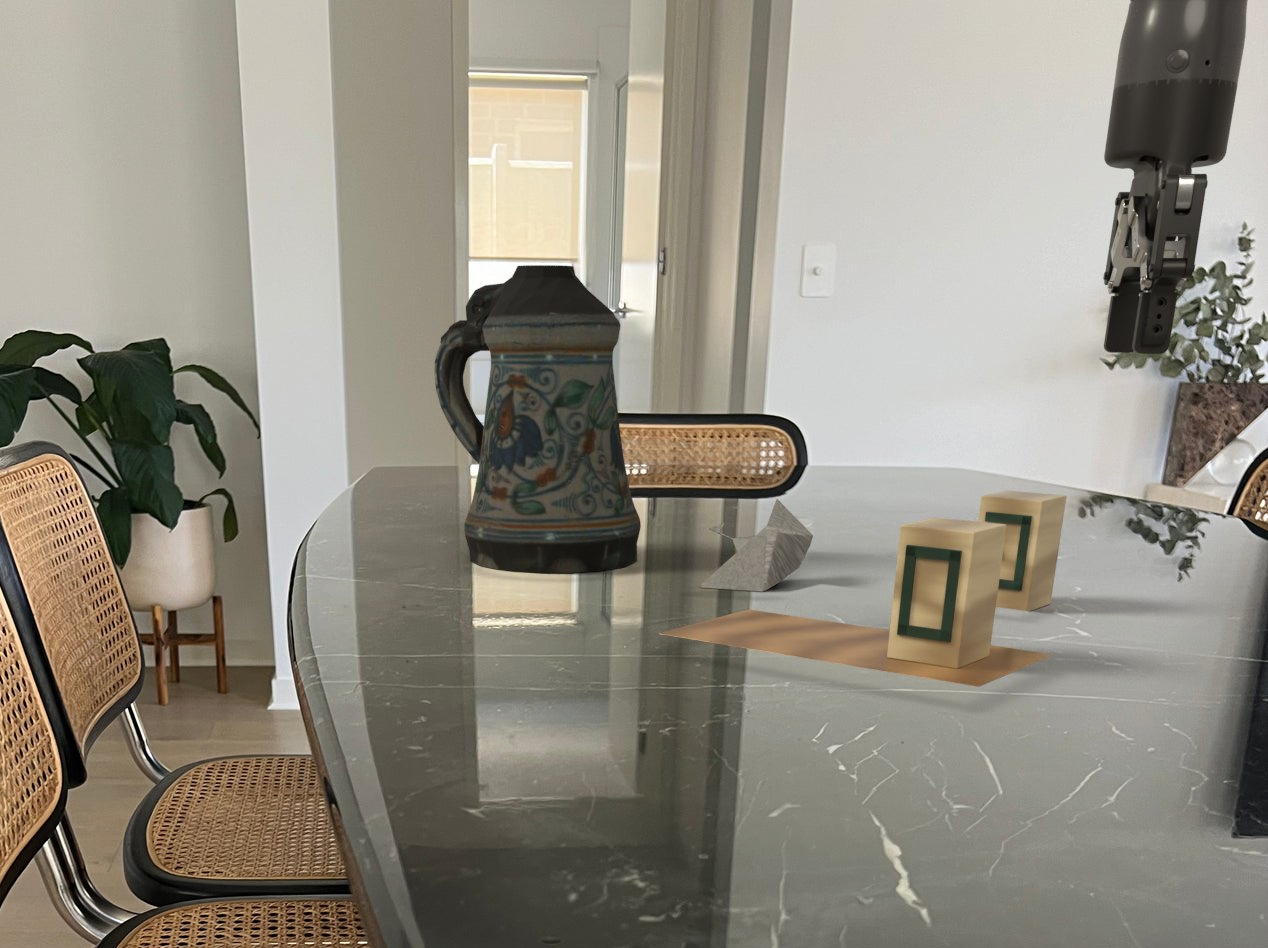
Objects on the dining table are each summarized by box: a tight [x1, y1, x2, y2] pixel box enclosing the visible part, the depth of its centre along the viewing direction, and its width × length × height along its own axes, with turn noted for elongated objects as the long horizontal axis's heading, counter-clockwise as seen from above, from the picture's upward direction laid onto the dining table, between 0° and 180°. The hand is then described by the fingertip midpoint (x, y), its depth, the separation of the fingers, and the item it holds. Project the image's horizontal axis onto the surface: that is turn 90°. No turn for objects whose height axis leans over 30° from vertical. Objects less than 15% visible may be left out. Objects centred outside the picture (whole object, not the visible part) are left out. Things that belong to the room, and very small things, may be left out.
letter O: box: [887, 517, 1007, 669], centre depth 95 cm, size 5×5×8 cm
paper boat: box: [698, 498, 814, 592], centre depth 126 cm, size 12×6×9 cm
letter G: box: [977, 490, 1068, 612], centre depth 117 cm, size 5×5×8 cm
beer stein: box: [433, 264, 641, 574], centre depth 133 cm, size 16×19×25 cm
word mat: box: [658, 609, 1053, 688], centre depth 101 cm, size 24×12×1 cm, turn 51°
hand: (1133, 353), depth 101 cm, fingers open, 8 cm apart
